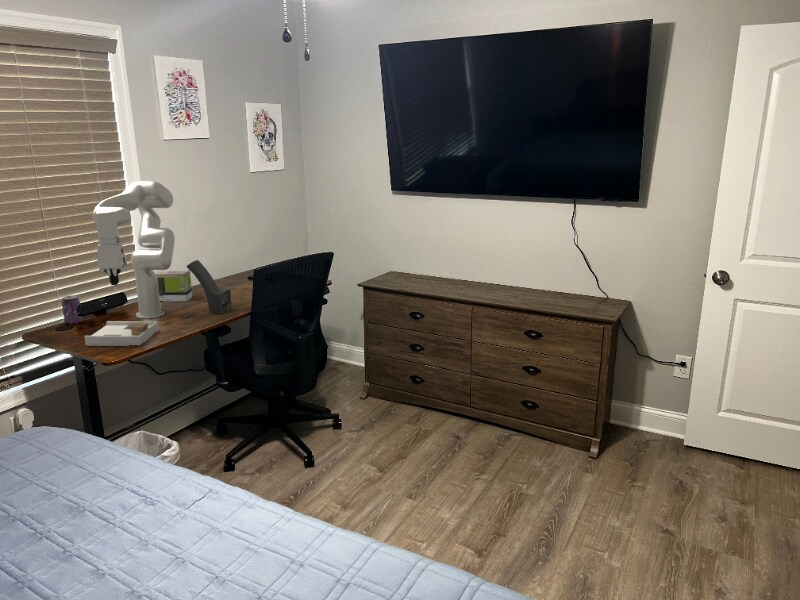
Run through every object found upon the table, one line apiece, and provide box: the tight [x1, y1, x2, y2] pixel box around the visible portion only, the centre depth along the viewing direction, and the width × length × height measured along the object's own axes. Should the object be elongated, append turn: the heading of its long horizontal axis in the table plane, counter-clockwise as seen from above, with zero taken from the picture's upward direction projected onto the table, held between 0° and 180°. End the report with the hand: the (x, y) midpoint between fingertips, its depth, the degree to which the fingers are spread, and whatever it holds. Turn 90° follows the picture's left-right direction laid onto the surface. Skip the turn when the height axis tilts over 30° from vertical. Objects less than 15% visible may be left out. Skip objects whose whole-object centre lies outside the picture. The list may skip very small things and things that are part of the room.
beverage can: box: [61, 294, 83, 325], centre depth 272 cm, size 7×7×12 cm
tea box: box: [155, 269, 193, 302], centre depth 310 cm, size 15×10×15 cm, turn 92°
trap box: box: [84, 320, 160, 347], centre depth 254 cm, size 20×22×4 cm
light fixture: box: [186, 259, 232, 315], centre depth 290 cm, size 11×17×24 cm, turn 81°
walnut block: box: [131, 323, 148, 335], centre depth 253 cm, size 5×5×4 cm
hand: (114, 284), depth 250 cm, fingers closed
